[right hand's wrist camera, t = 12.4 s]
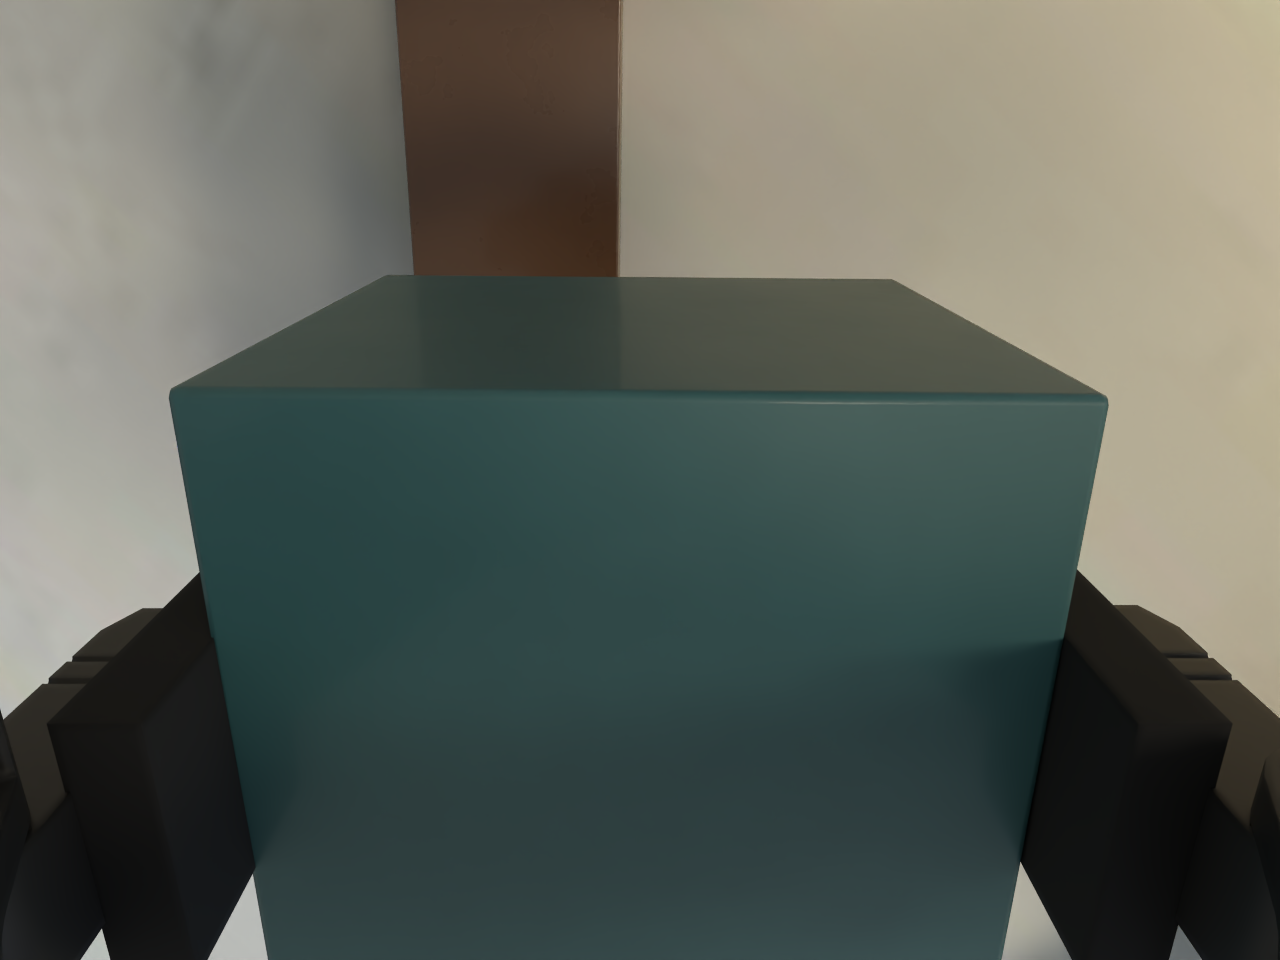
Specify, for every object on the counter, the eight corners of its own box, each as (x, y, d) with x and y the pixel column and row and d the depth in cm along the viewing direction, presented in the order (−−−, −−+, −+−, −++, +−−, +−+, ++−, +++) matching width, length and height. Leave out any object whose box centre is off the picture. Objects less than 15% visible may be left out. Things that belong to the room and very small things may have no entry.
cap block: (382, 274, 14) (162, 388, 8) (895, 278, 14) (1114, 396, 8) (417, 664, 17) (271, 1005, 10) (855, 667, 17) (995, 1008, 10)
